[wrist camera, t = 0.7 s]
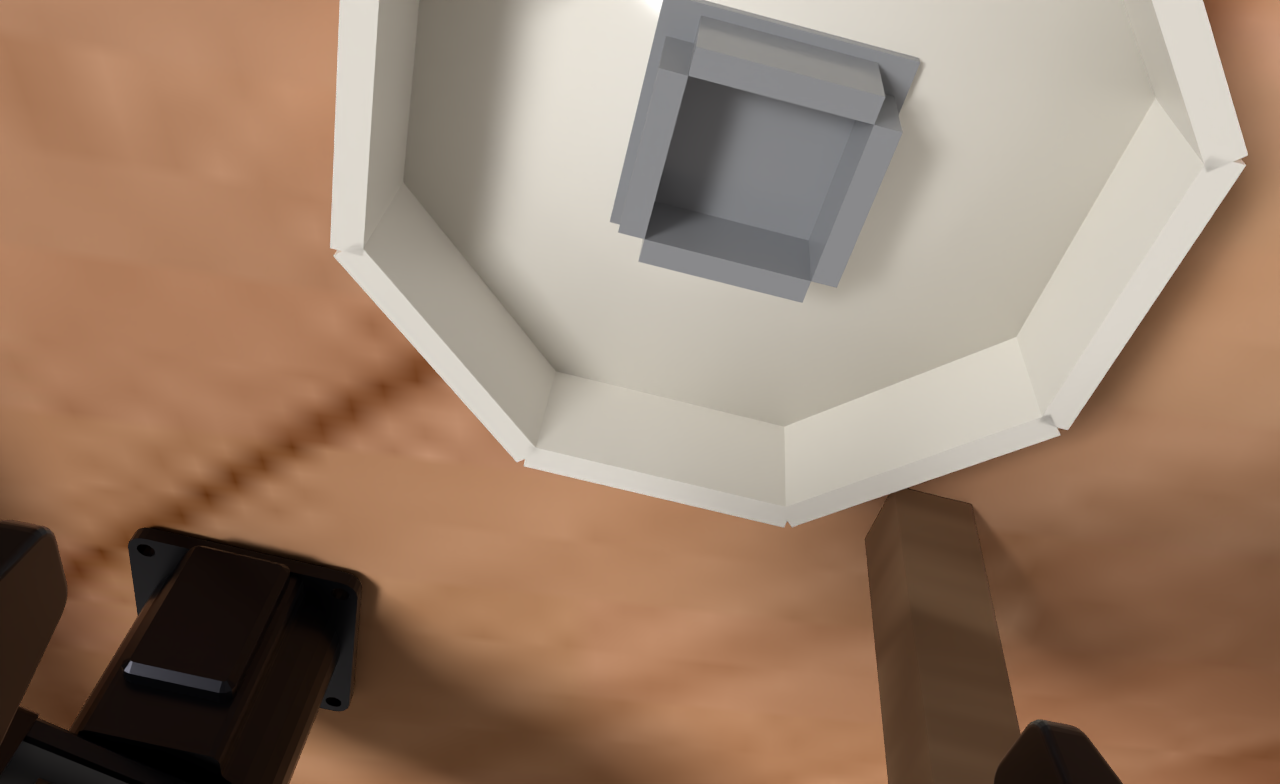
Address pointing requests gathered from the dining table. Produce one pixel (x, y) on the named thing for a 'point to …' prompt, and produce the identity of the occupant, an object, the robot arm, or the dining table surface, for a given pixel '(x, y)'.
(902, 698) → the tall wooden post
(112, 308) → the dining table surface
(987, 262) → the octagonal white tray
